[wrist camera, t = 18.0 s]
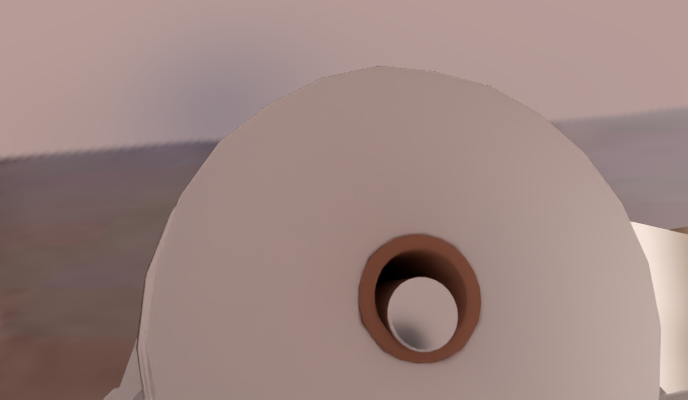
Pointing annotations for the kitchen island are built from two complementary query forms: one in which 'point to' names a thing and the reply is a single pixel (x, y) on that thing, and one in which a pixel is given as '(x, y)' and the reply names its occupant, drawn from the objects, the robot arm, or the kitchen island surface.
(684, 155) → the kitchen island surface
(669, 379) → the mounted unit
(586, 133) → the kitchen island surface
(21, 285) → the kitchen island surface
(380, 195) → the white tall cylinder
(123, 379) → the robot arm
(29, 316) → the kitchen island surface
